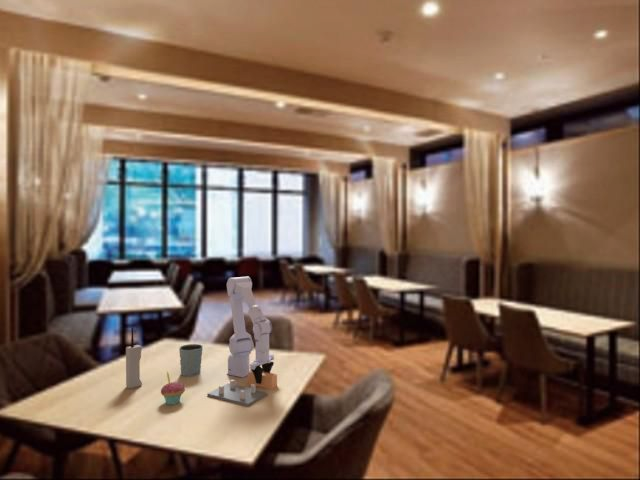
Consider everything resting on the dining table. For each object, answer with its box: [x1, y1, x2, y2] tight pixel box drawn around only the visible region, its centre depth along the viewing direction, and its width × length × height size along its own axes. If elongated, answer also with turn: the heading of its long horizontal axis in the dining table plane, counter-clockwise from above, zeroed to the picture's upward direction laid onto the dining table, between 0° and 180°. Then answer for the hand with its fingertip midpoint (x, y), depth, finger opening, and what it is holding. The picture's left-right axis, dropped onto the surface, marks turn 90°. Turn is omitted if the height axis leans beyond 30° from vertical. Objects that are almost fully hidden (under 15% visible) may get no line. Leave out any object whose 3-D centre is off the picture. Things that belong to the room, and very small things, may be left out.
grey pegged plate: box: [206, 379, 268, 407], centre depth 159 cm, size 20×12×4 cm, turn 62°
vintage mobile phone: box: [125, 326, 143, 390], centre depth 168 cm, size 4×5×25 cm
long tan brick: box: [247, 368, 278, 390], centre depth 170 cm, size 12×4×7 cm, turn 63°
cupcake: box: [160, 371, 186, 405], centre depth 153 cm, size 9×8×12 cm
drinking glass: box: [178, 343, 204, 377], centre depth 184 cm, size 10×10×12 cm
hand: (262, 381), depth 171 cm, fingers open, 5 cm apart
